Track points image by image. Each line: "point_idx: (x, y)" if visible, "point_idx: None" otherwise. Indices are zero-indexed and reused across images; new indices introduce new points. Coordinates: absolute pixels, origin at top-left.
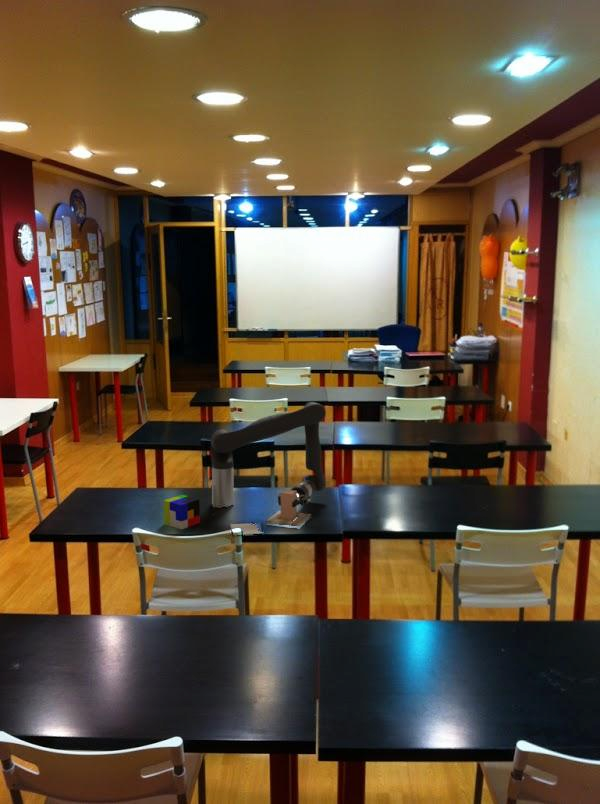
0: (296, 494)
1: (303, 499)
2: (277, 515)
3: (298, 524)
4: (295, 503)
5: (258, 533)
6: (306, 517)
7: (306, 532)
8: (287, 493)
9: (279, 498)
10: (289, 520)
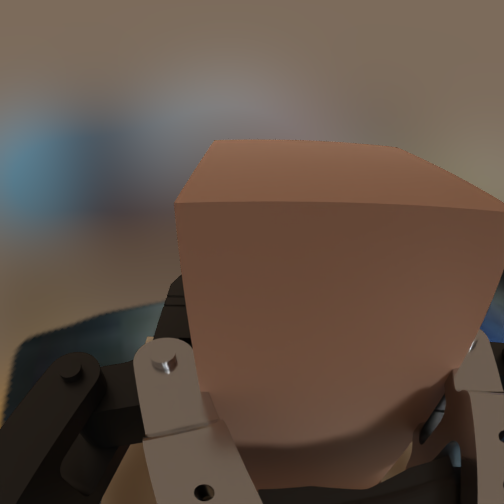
0: (189, 299)
1: (54, 366)
2: (411, 444)
3: (153, 337)
4: (179, 281)
5: None
6: (111, 492)
7: (108, 334)
8: (296, 140)
9: (497, 346)
10: None
